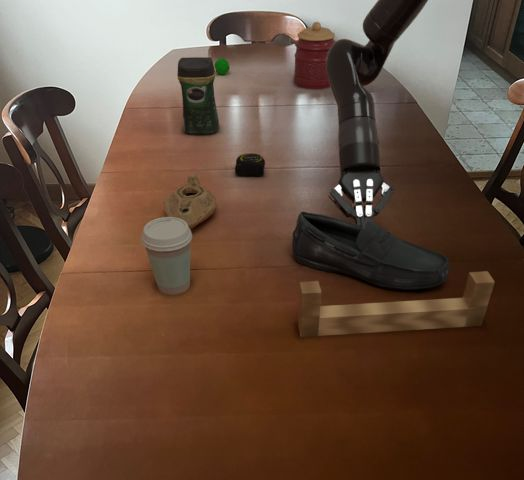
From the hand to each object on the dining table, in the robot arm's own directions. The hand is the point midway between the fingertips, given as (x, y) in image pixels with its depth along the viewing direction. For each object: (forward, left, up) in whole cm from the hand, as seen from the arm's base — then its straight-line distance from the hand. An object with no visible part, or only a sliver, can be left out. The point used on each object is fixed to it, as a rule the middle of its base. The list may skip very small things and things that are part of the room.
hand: (364, 238), depth 111 cm
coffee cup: (+36, +7, -4) cm, 37 cm away
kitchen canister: (-5, -100, -4) cm, 101 cm away
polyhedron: (+24, -113, -4) cm, 116 cm away
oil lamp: (+33, -16, -4) cm, 37 cm away
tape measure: (+19, -37, -4) cm, 42 cm away
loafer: (+1, +6, -4) cm, 7 cm away
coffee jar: (+31, -65, -4) cm, 72 cm away
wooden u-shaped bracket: (0, +22, -4) cm, 22 cm away
